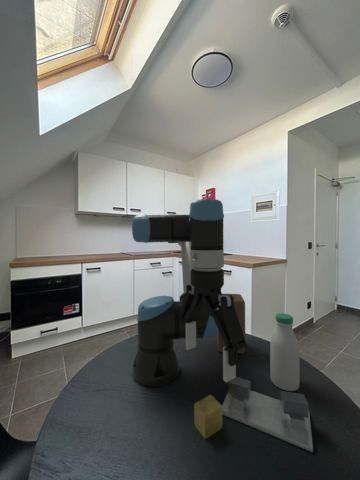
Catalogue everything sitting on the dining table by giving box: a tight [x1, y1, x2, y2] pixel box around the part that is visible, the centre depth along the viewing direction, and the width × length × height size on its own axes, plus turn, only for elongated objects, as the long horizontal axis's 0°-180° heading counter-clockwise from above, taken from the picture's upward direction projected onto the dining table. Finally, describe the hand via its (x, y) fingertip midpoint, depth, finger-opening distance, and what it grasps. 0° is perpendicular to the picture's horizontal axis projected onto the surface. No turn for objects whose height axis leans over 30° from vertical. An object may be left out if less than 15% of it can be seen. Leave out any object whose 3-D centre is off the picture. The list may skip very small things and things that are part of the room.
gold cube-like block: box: [193, 394, 223, 440], centre depth 46 cm, size 5×4×5 cm
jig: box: [221, 376, 314, 453], centre depth 49 cm, size 19×10×6 cm, turn 61°
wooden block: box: [216, 293, 246, 354], centre depth 80 cm, size 10×10×20 cm
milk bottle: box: [269, 312, 300, 392], centre depth 60 cm, size 8×8×20 cm
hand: (207, 361), depth 46 cm, fingers open, 13 cm apart
